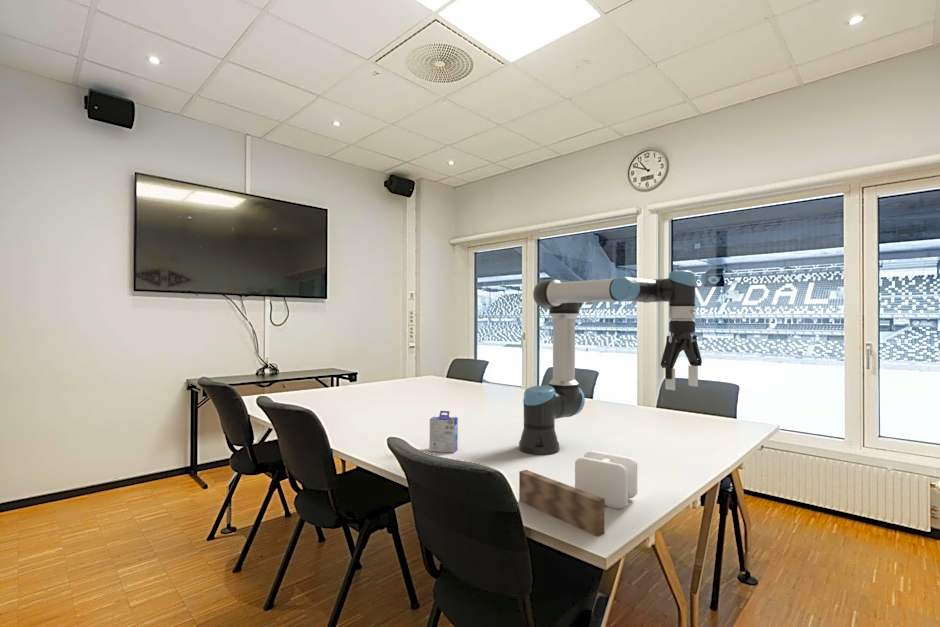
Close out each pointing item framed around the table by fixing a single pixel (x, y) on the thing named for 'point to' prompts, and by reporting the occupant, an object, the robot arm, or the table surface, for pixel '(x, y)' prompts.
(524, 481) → the walnut board
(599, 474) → the tooth protector case
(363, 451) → the table surface
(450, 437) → the ink cartridge box
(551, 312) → the robot arm
